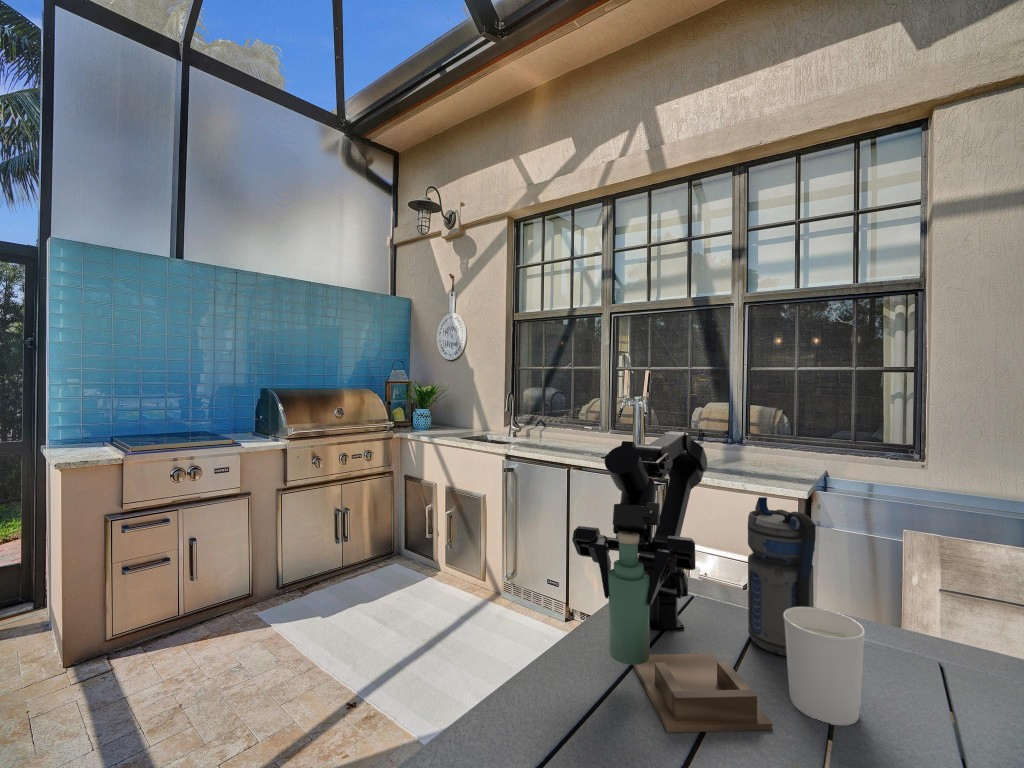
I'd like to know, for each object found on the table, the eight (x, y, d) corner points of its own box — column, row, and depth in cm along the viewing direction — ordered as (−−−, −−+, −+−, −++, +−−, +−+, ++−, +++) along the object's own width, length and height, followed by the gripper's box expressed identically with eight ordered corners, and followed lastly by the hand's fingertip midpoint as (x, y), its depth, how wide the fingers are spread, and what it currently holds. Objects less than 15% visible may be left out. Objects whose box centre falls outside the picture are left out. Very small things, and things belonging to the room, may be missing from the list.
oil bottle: (602, 645, 77) (601, 530, 76) (636, 639, 78) (636, 526, 78) (620, 667, 71) (619, 542, 70) (657, 660, 72) (656, 538, 72)
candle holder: (826, 736, 63) (825, 642, 64) (768, 691, 73) (767, 610, 73) (884, 723, 66) (883, 633, 66) (820, 681, 75) (819, 603, 76)
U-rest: (629, 659, 81) (629, 636, 81) (712, 658, 82) (712, 635, 82) (667, 732, 64) (667, 702, 64) (772, 729, 64) (772, 700, 64)
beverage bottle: (784, 671, 78) (783, 513, 79) (734, 631, 91) (733, 496, 92) (840, 666, 80) (839, 511, 80) (783, 627, 93) (782, 495, 93)
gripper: (574, 477, 81) (555, 568, 71) (694, 486, 74) (692, 588, 64) (585, 512, 89) (570, 599, 79) (696, 522, 82) (694, 619, 72)
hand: (627, 600), depth 73 cm, fingers closed on oil bottle, 6 cm apart
